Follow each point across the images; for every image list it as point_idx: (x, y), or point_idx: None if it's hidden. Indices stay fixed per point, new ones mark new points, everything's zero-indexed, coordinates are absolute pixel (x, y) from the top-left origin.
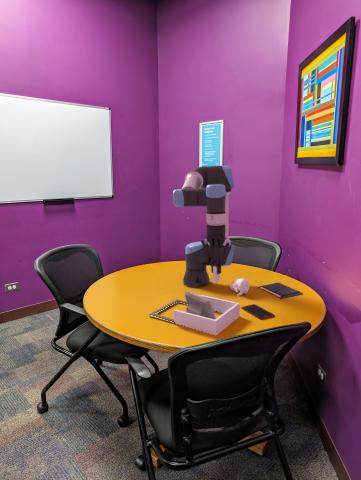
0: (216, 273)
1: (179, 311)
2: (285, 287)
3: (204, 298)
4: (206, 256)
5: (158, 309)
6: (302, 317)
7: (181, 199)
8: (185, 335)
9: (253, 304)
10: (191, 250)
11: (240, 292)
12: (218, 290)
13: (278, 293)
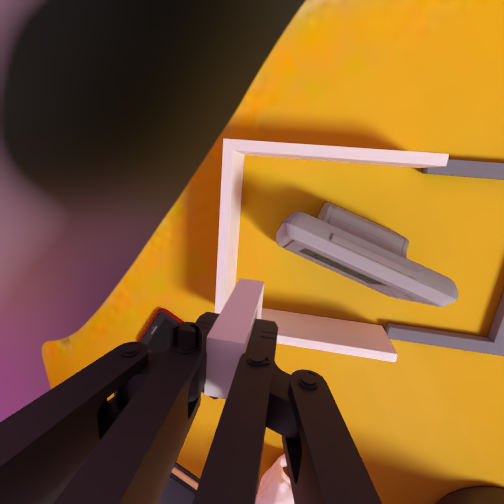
0: (224, 306)
1: (414, 154)
2: None
3: (320, 246)
4: (341, 453)
5: None
6: (79, 360)
7: None
8: (334, 90)
9: (217, 397)
10: None
11: (282, 463)
12: (372, 478)
13: (180, 484)
